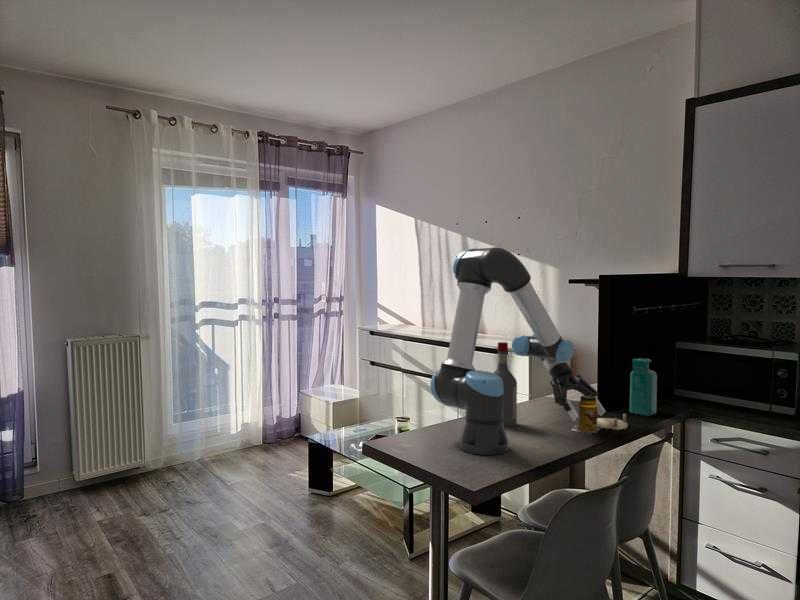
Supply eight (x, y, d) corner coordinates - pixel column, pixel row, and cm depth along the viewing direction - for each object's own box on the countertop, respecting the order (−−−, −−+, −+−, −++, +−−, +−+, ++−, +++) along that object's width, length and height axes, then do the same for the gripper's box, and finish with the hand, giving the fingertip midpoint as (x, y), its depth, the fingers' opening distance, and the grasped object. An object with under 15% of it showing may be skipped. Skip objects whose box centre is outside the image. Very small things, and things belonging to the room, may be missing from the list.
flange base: (599, 429, 186) (599, 418, 186) (587, 421, 198) (587, 410, 198) (633, 430, 186) (633, 418, 186) (619, 421, 198) (619, 410, 198)
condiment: (596, 434, 181) (596, 399, 180) (570, 430, 185) (571, 396, 185) (599, 429, 187) (600, 395, 187) (574, 426, 191) (575, 393, 191)
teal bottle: (635, 409, 216) (636, 356, 216) (657, 413, 210) (658, 358, 210) (626, 413, 209) (627, 358, 209) (648, 417, 203) (649, 360, 203)
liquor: (510, 420, 198) (511, 341, 197) (518, 427, 189) (518, 344, 188) (486, 421, 197) (487, 341, 196) (492, 427, 188) (493, 344, 187)
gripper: (575, 370, 206) (607, 417, 193) (527, 376, 193) (558, 426, 181) (586, 358, 201) (619, 405, 188) (538, 363, 188) (570, 414, 176)
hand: (589, 416), depth 184 cm, fingers open, 13 cm apart
